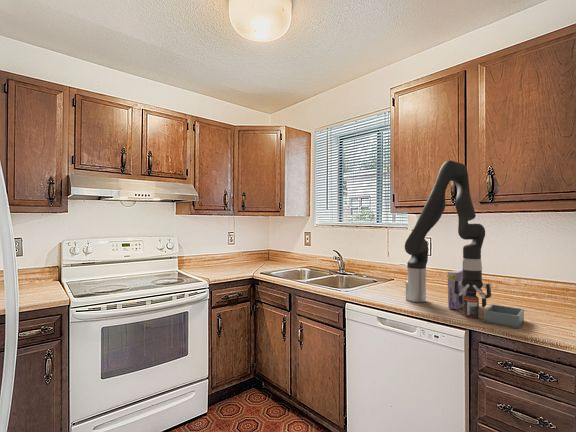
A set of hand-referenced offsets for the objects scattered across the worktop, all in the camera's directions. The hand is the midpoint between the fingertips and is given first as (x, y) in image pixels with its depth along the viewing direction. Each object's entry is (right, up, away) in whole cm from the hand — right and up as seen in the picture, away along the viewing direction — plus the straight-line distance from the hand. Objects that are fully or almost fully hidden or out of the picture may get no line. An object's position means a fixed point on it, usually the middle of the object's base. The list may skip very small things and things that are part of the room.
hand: (472, 305), depth 152 cm
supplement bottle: (-1, -5, 0) cm, 5 cm away
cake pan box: (+3, -5, +18) cm, 19 cm away
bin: (+9, -5, -7) cm, 13 cm away
